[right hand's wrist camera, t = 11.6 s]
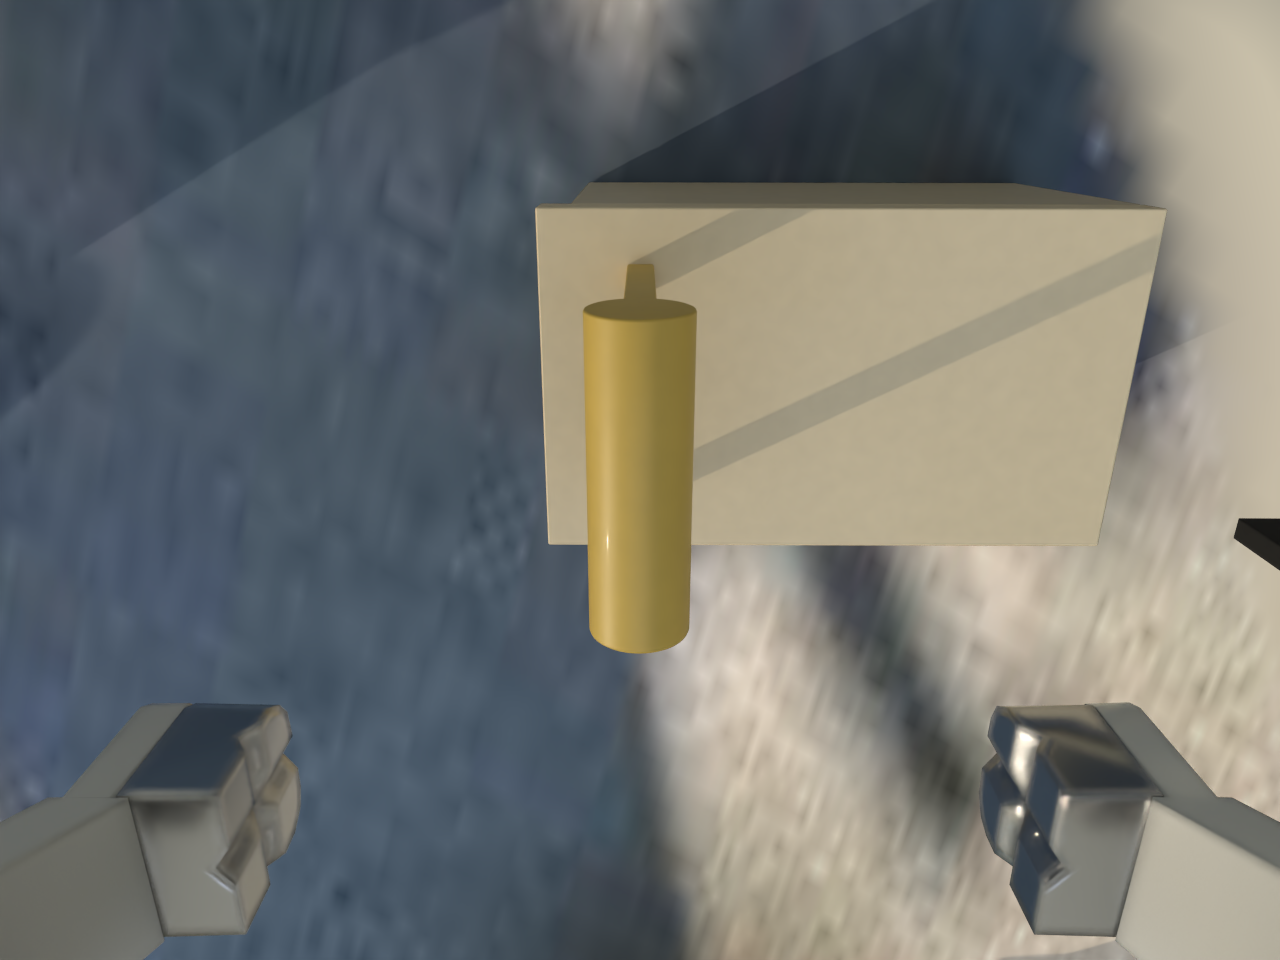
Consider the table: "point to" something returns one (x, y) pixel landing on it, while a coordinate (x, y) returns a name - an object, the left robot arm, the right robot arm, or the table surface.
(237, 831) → the right robot arm
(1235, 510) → the table surface
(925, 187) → the chest
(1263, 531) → the left robot arm
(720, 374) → the lid
